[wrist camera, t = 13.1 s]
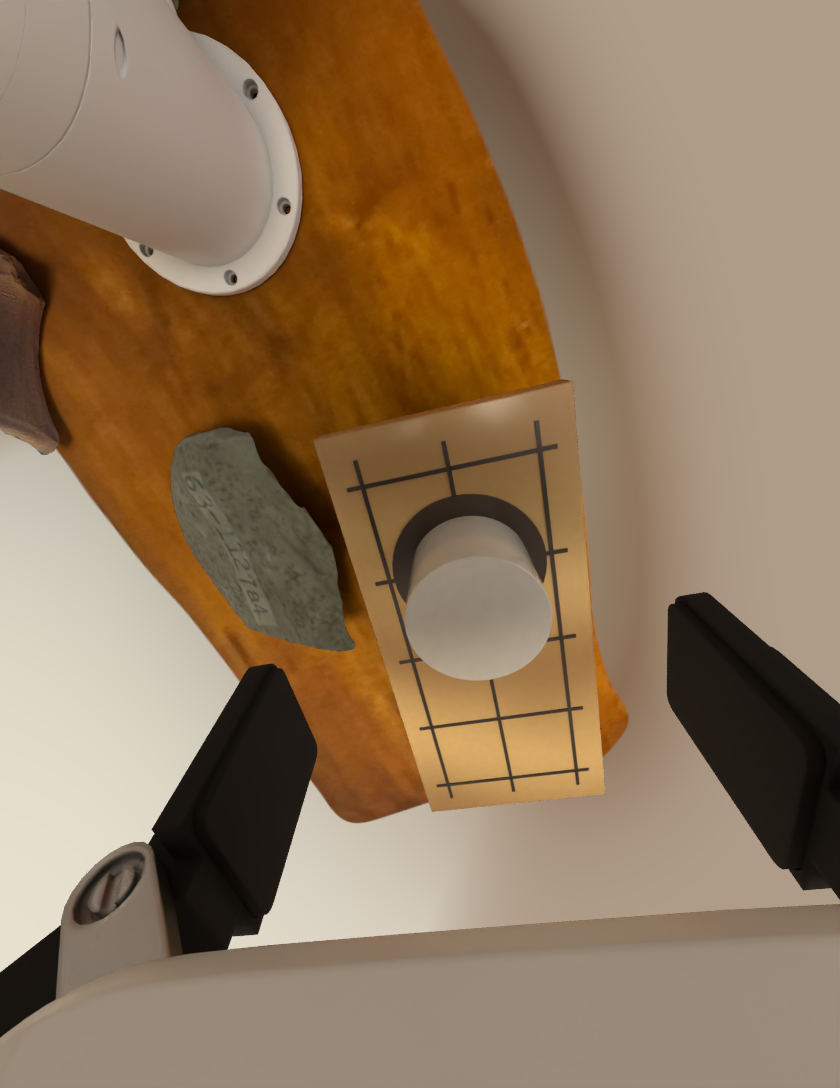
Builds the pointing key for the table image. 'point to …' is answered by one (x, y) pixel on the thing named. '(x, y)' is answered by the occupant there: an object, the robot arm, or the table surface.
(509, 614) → the off-white cylinder
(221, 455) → the stone
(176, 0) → the arrowhead
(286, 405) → the table surface
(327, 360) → the table surface
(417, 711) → the game board
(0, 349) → the fragment
